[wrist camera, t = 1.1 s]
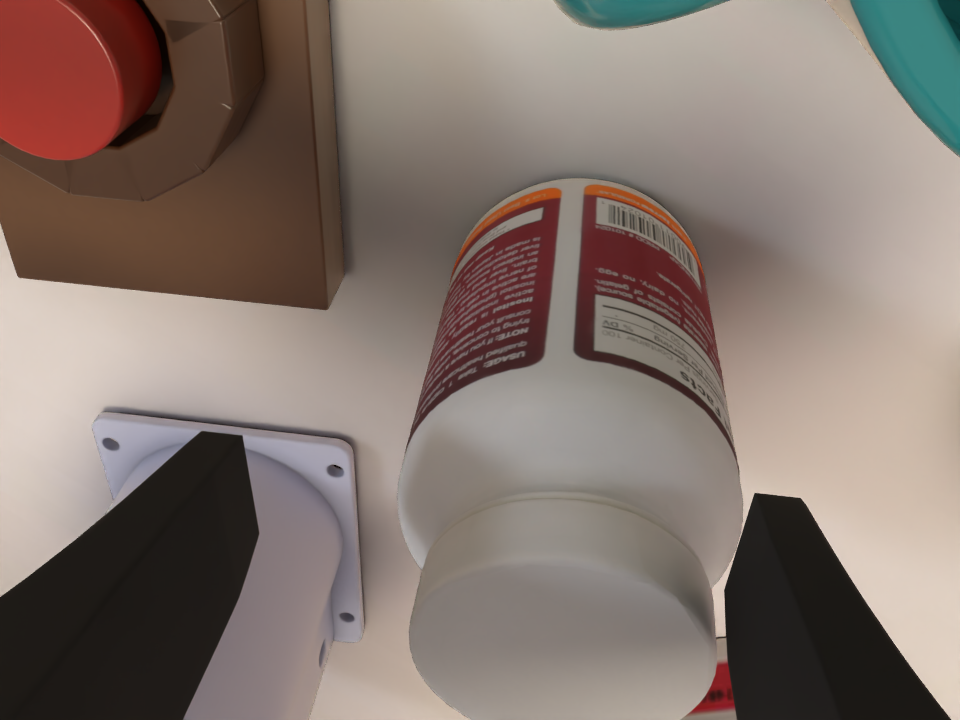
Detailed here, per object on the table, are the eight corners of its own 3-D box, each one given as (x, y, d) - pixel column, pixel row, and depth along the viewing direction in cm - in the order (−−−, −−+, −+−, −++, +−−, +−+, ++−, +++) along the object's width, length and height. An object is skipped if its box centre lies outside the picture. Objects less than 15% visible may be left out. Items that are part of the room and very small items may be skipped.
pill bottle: (475, 385, 24) (396, 765, 15) (436, 180, 21) (305, 522, 12) (705, 375, 23) (761, 781, 14) (706, 156, 20) (781, 516, 11)
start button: (176, 133, 17) (138, 169, 16) (24, 119, 18) (-27, 154, 16) (147, -39, 16) (100, -15, 14) (-24, -52, 16) (-86, -30, 14)
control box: (345, 276, 23) (307, 354, 20) (52, 246, 23) (-26, 318, 20) (321, -146, 17) (262, -118, 14) (-69, -171, 18) (-198, -151, 15)
